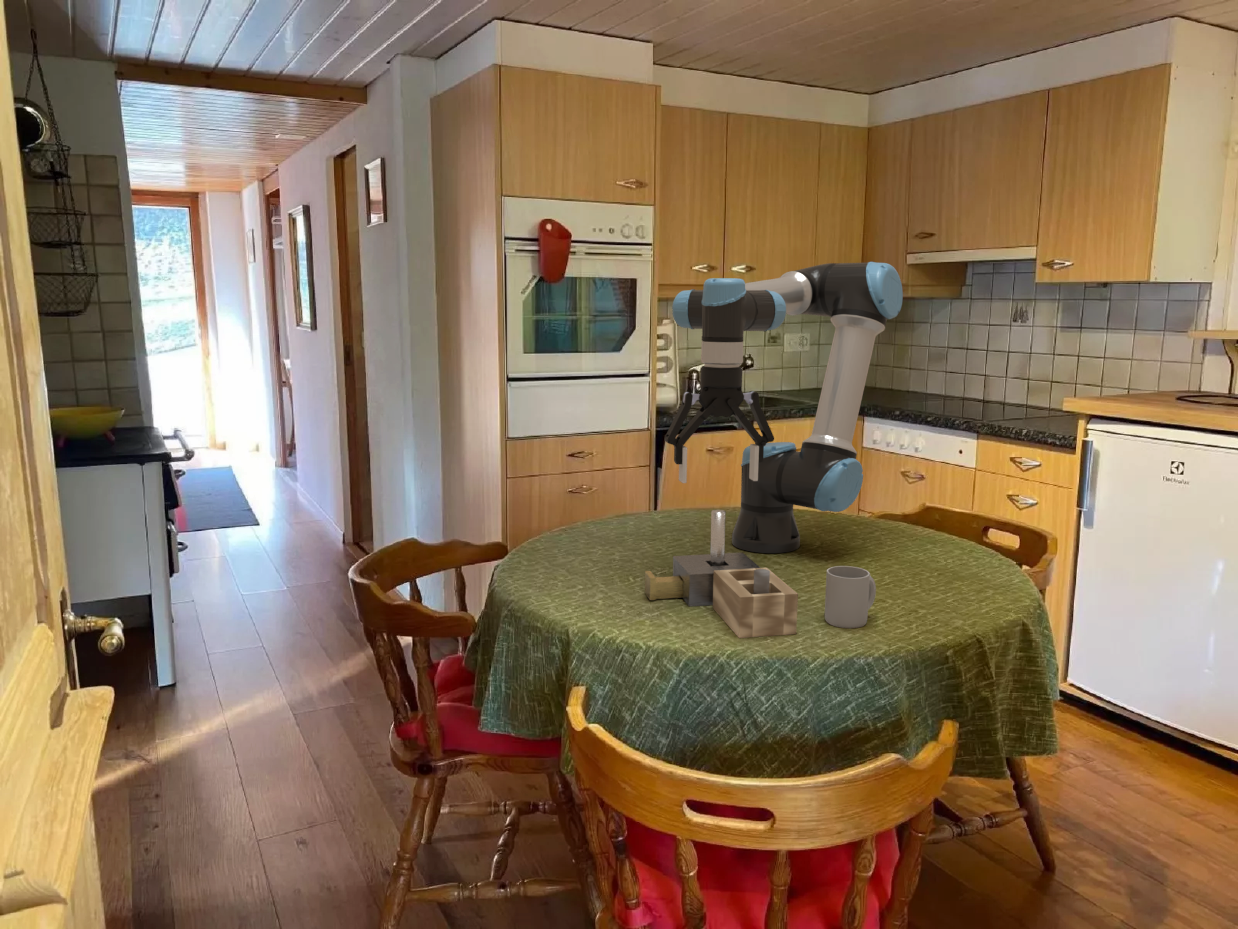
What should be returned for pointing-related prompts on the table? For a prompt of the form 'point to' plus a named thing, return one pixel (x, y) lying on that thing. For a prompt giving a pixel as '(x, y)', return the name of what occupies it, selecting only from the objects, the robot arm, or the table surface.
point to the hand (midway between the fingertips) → (718, 480)
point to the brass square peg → (663, 586)
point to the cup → (848, 596)
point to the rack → (755, 602)
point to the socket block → (704, 574)
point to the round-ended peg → (717, 537)
